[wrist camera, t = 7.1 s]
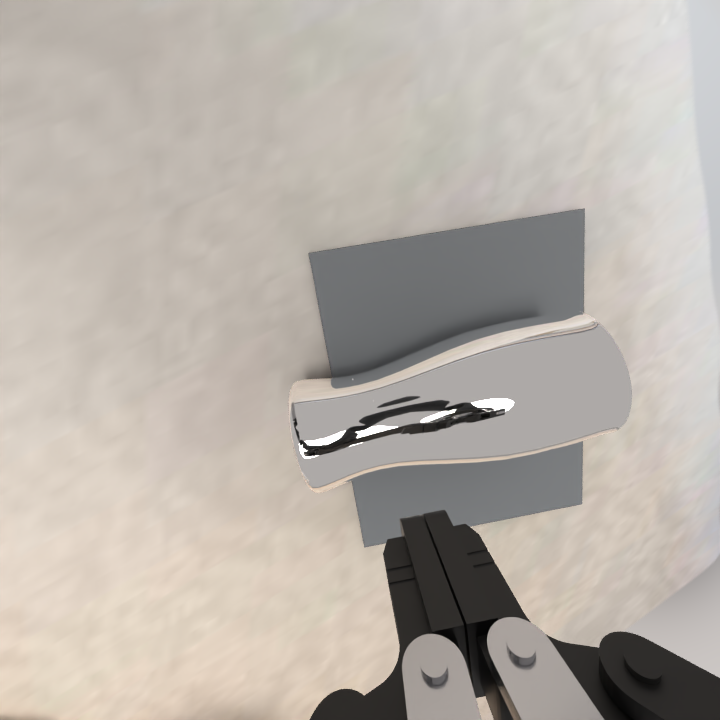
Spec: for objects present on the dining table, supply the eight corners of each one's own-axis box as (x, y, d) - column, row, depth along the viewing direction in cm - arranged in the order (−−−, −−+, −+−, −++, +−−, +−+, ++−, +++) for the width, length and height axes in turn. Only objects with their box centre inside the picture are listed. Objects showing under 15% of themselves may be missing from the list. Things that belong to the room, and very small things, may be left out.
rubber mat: (309, 253, 19) (308, 253, 18) (579, 209, 20) (584, 208, 19) (364, 543, 24) (364, 547, 23) (578, 500, 24) (582, 504, 24)
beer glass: (315, 393, 23) (533, 340, 22) (331, 501, 20) (582, 446, 19) (277, 354, 16) (583, 277, 16) (294, 505, 14) (667, 422, 13)
